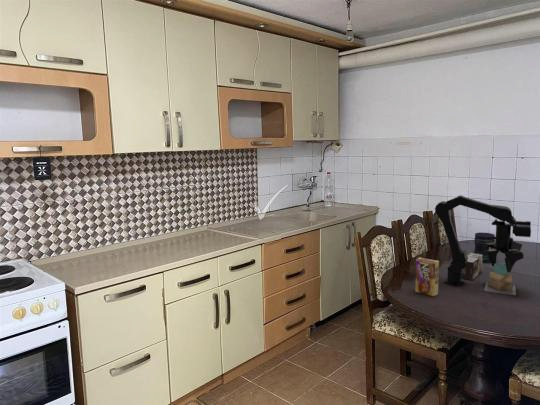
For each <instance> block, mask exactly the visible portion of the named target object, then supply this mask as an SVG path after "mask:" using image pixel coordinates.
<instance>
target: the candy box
mask: <svg viewBox="0 0 540 405" xmlns="http://www.w3.org/2000/svg"><path fill="white" fill-rule="evenodd" d="M439 266H440V261H439V260H437V259H436V260H435V259H430V258H423V257H417V258H416V259H415V288H414V290H415V293H417V294H418V293H419V294H423V295H426V296H427V295H428V296H432V297H436V296H437V295H438V294H439V274H440V272H439V271H440V267H439Z"/></svg>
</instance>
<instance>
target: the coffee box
mask: <svg viewBox="0 0 540 405" xmlns="http://www.w3.org/2000/svg"><path fill="white" fill-rule="evenodd" d="M466 255H467V257H468V260H467V264H466V266H465V268H464V269H461V270H462V279H465V280H470V281H474V279H475V278H476V277H478V276H479V275H480V274H481V273H482V271H483V263H482V256H483V255H480V254H474V252H473V253H472V252H470V253H468V254H466Z"/></svg>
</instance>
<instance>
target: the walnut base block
mask: <svg viewBox="0 0 540 405" xmlns="http://www.w3.org/2000/svg"><path fill="white" fill-rule="evenodd" d="M487 282H488V287H491V288H493V289H495V290H497V291H509V290H513V286H514V282H513V281H511V282H509V283H497V282H495V281H493V280H491V279H490V278H488V279H487Z"/></svg>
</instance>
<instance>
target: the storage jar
mask: <svg viewBox="0 0 540 405" xmlns="http://www.w3.org/2000/svg"><path fill="white" fill-rule="evenodd" d="M493 237H496V234H494V233H490V232H475V233H474V250H473V254H480V255H483V256H482V264H491V262H490V260H489V258H488V256H487V254H486V252H485V251H484V249H482V247H483V244H484V243H492V242H493V243H495V239H493Z"/></svg>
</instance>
